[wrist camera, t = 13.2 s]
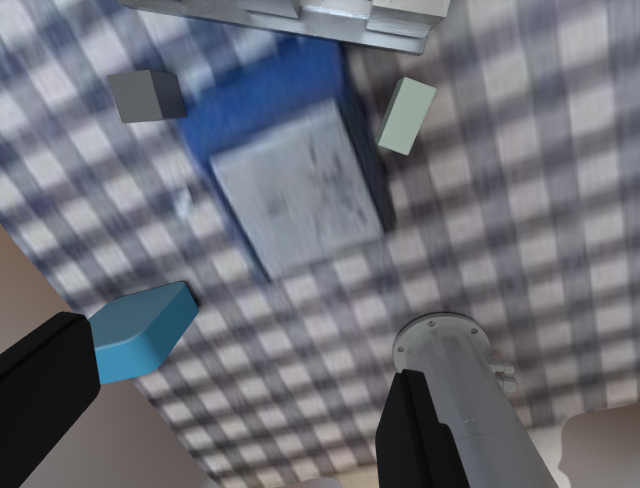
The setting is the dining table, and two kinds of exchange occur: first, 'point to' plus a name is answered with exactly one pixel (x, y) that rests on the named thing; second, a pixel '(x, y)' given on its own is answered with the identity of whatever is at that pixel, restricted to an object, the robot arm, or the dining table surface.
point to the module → (272, 6)
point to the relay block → (147, 96)
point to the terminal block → (404, 115)
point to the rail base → (323, 19)
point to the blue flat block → (140, 330)
